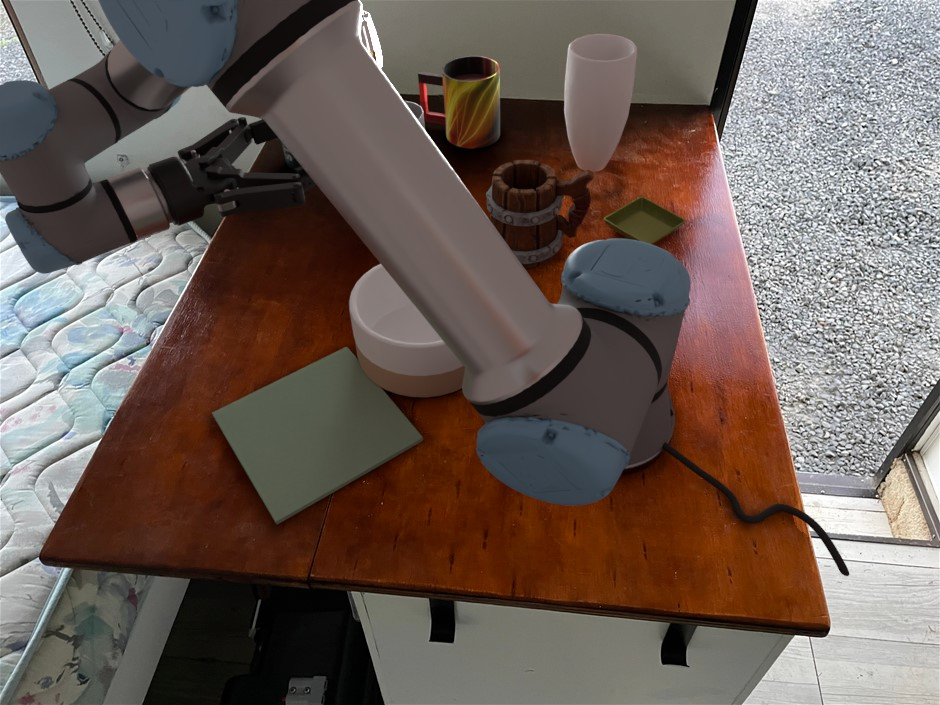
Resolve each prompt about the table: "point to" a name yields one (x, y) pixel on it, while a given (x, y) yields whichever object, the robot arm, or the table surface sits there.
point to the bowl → (399, 341)
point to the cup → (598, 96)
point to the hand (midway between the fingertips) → (321, 139)
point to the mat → (314, 432)
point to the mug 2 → (535, 208)
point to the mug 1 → (466, 100)
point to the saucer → (643, 221)
